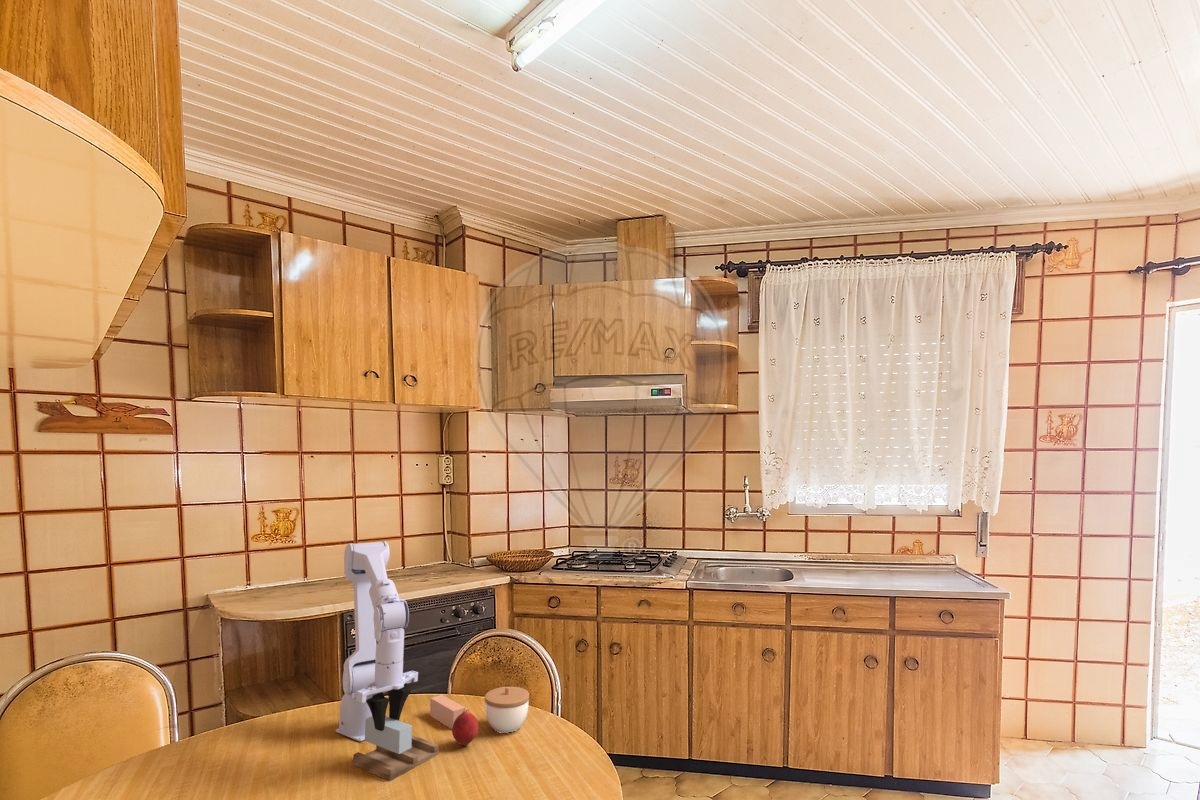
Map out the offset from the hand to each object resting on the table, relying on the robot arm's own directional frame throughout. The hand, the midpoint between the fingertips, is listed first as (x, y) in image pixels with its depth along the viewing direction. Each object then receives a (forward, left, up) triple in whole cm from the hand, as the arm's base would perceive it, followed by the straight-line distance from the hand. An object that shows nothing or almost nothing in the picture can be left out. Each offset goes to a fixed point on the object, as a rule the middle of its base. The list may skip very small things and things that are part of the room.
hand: (386, 726), depth 127 cm
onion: (+8, +15, -8) cm, 19 cm away
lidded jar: (+10, +27, -8) cm, 30 cm away
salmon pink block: (-5, +22, -8) cm, 24 cm away
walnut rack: (0, +3, -8) cm, 8 cm away
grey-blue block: (0, 0, -4) cm, 4 cm away
